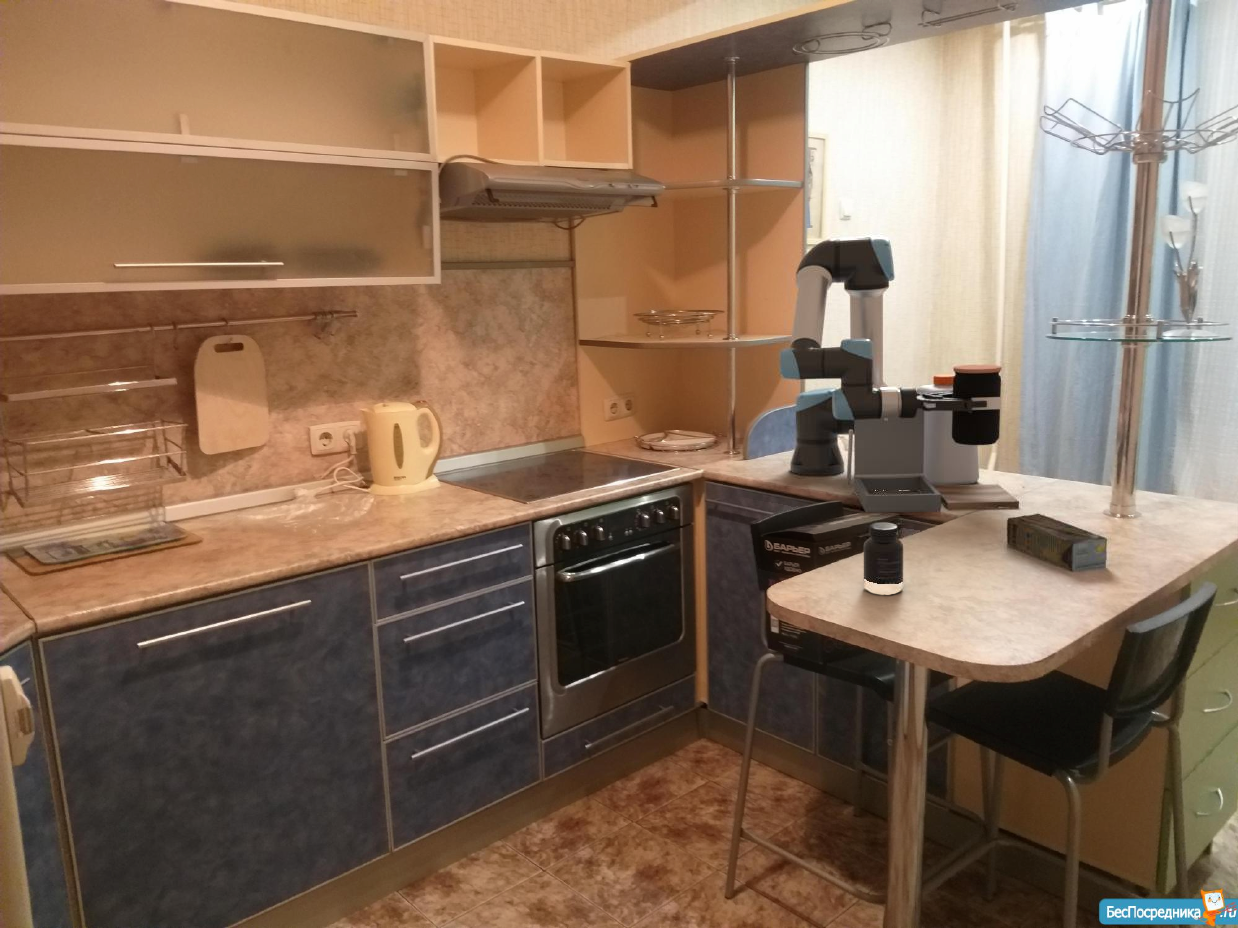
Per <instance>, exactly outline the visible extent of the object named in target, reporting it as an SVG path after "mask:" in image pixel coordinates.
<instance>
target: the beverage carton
mask: <svg viewBox="0 0 1238 928" xmlns="http://www.w3.org/2000/svg"><path fill="white" fill-rule="evenodd" d="M1006 544H1007V546H1008V547H1010V548H1013V549H1015V550H1018V551H1020V552H1023V553H1025V554H1027V555H1030V556H1031V557H1034V558H1037V559H1040V560H1042V561H1044V562H1046V563H1049V564H1052V565H1053V566H1056V567H1059V568H1062V569H1065V570H1067V571H1069V572H1072V573H1075V572H1081V571H1088V570H1096V569H1102V568H1105V567H1106V566H1107V559H1108V558H1107V553H1108V552H1107V547H1108V546H1107V545H1108V538H1106V537H1105V536H1101V535H1099V534H1095V533H1093V532H1090V531H1088V530H1085V529H1083V528H1080V527H1077V526H1075V525H1072V524H1069V523H1066V522H1063V521H1061V520H1058V519H1055V518H1053V517H1050V516H1046V515H1045V514H1040V513H1034V514H1030V515H1026V514H1025V515H1020V516H1013V517H1008V518H1007V520H1006Z"/></svg>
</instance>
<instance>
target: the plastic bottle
mask: <svg viewBox="0 0 1238 928" xmlns="http://www.w3.org/2000/svg"><path fill="white" fill-rule="evenodd" d="M954 376H955V374H952V373H951V374H950V373H948V374H947V373H943V374H941V373H940V374H935V375H934V376H933V384H927V385H926V384H925V385H921V386H919V387H917V389H916V391H917V394H918V393H920V394H922V393H939V392H951V391H953V377H954ZM978 446H979V445H963V444H958V443H955V441H954V440H953V438H952V411H924V470H923V474H924V477H925V478H926V479H927V480H928V481H929V482H930V483H931V484H932V485H933V486H940V485H973V484H974V483H977V482H978V481H979V478H980V468H979V466H980V465H979V464H980V463H979V448H978Z"/></svg>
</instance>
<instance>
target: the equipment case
mask: <svg viewBox="0 0 1238 928" xmlns="http://www.w3.org/2000/svg"><path fill="white" fill-rule="evenodd" d="M853 438H854V441H853ZM853 442H854V443H853ZM853 444H854V445H853ZM847 445H848V446H847V447H848V449H847V468H846V469H847V470H846V486H847V487H850V486H851V484H852V482H851V481H852V462H854V463H853V465H854V467H853V470H854V472H853V473H854V474H853V475H854V476H853V479H854V485H853V487H854V490H855V491H854V493H855V492H856V493H855V495H856V494H857V495H856V497H857V496H858V497H857V498H859V499H858V500H859V502H860V505H861V506H862V508H863V510H864V511H865V513H911V512H912V513H914V512H915V513H916V512H917V513H918V512H920V513H921V512H925V513H926V512H941V511H942V510H941V509H942V502H941V494H940V493H939V492H938V491H937V490H936V489H935V487H934V486H933V485H932V484H931V483H930V482H929V481H928V480H927V479H926V478H925V477H924V474H923V470H924V410H922V409H920V408H918V409H917V414H916V416H915V417H914V418H900V417H899V416H898V417H897V418H888V421H884V418H883V419H863V420H854V435H853V430H849V435H848V443H847ZM853 446H854V447H853ZM853 448H854V451H853ZM853 453H854V454H853ZM853 455H854V456H853ZM853 457H854V461H852V460H853ZM875 490H876V491H883V490H884V491H883V492H900V491H899V490H902V491H901V492H904V491H903V490H919V491H918V492H919V493H910V494H909V493H905V494H904V493H901V494H899V493H898V494H897V493H896V494H870V492H868V491H875ZM921 493H922V494H921Z"/></svg>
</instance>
